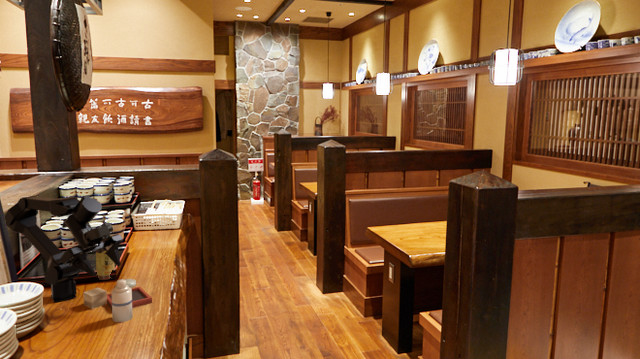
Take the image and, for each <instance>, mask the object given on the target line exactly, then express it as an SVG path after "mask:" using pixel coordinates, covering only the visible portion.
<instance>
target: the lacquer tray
mask: <svg viewBox="0 0 640 359" xmlns="http://www.w3.org/2000/svg"><path fill="white" fill-rule="evenodd" d="M131 289H132V309H133V308H136V307H141V306H145V305H149V304H152V303H153V297H152V296H151V295H149V293H147V291H145V289H143V287H141V286H135V287H132V288H131ZM107 305H108V306H109V307H110V308H111V309H112V294H111V293H107Z"/></svg>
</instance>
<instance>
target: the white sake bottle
mask: <svg viewBox="0 0 640 359" xmlns="http://www.w3.org/2000/svg"><path fill="white" fill-rule="evenodd" d="M125 279H126V278H125ZM125 279H124V278H123V279H122V278H121V279H118V280H116V285H115V286H114V288H113V289H112V290H111V294H112V308H111V312H112V314H111V315H112V321H113V322H115V323H125V322H128V321H130V320H132V319H133V308H132V289H131V288H130V287H129V286H128V285H126V280H125Z"/></svg>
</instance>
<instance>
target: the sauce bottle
mask: <svg viewBox="0 0 640 359" xmlns="http://www.w3.org/2000/svg"><path fill="white" fill-rule="evenodd" d="M99 227H102V225H101V226H99ZM109 236H111V234H110V235H106V236H104V239H103V240H101V242H104V241H105V240H106V239H107V238H108V237H109ZM106 252H107V251H105V250H104V249H103V248H102V249H99V250H96V251H95V270H96V271H97V274H96V276H97V275H98V278H99V281H107V280H111V279H112V278H111V277H110V274H111V272H112V270H114V269H115V266H116V264H115V263H114V262H113V261H112V260H111V259H110V258H109V257H108V256H107V254H106ZM115 270H116V269H115ZM96 271H95V272H96ZM110 278H111V279H110Z"/></svg>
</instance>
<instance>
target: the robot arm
mask: <svg viewBox="0 0 640 359" xmlns="http://www.w3.org/2000/svg"><path fill="white" fill-rule="evenodd" d="M102 209H103V206H102V203H101V201H99V200H98V199H95V198H93V197H90V195H89V194H88V195H83V196H81V198H80V200H79V199H78V197H77V196H68V197H61V198H52V197H42V196H36V195H29V196H24V197H21V198H19V199H18V201H17V202H16V203H15V204H14V205H12V206H11V207H10V208H9V209H8V210H7V211H6V212H5V215H4V216H5V220H6V224H5V225H6V226H7V227H8V228H9V229H10V230H11V231H13V232H15V233H18V234H21V235H23V236H24V237H25V238H26V240H28V242H30V243H31V245H32V247H34V248H35V249H36V251H38V252H39V254H40V255H41V256H42V257H43V258H44V259H45V260H46V262H47V270H48V271H47V272H46V274H45V275H44V276H43V279H44V282H45V283H46V284H48V285H50V288H51V294H50V298H51V300H52V301H53V302H54V303H58V302H63V301H67V300H72V299H76V298H77V295H76V294H77V283H76V281H75V278H78V277H79V275H80V270H81V271H83V272H84V273H87V274H88V275H90V276H91V277H95V276H96V275H97V274H96V271H95V270H94V268H93V266H92V265H91V263H90V261H89V259H88V257H87V254H89V253H92V252H96V250H99V249H102V248H103V249H104V250H105V251H107V252H106V254H107V256H108V257H109V258H110V259H111V260H112V261H113V262H114V264H115V266H117V267H120V266H121V260H120V254H119V247H120V245H121V244H122V242H123V240H124V238H123V237H122V235H121V234H119V233H117V234H116V233H115V234H112V235H111V233H112V232H114V228H113V226H112V224H111V223H110V222H109V221H108V222H104V223H103V224H101V226H102V227H100V226H98V227H96V226H92V225H91V224H90V223H91V222H92V221H93V220H94V219H95V218H96V216H97V215H98V214H99V212H101V210H102ZM39 211H44V212H49V214H50V215H51V216H54V217H57V218H62V217H67V218H64V219H63V220H62V224H61V227H62V228H63V229H65V228H68V230H69V231H70V234H71V235H72V237H73V238H72V242H73V243H77V244H78V245H74V246H70V247H68V248H67V249H66V250H65V251H62V250H61V249H60V248H59V247H58V246H57V244H56V243H54V241H52V239H51V238H50V237H49V236H48V235H47V233H45V232H44V231H43V229H41V228H40V227H39V225H38V217H37V215H39ZM106 235H110V236H109V237H108V238H107V239H106V240H105V241H104V242H101V240H103V239H104V236H106Z"/></svg>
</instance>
